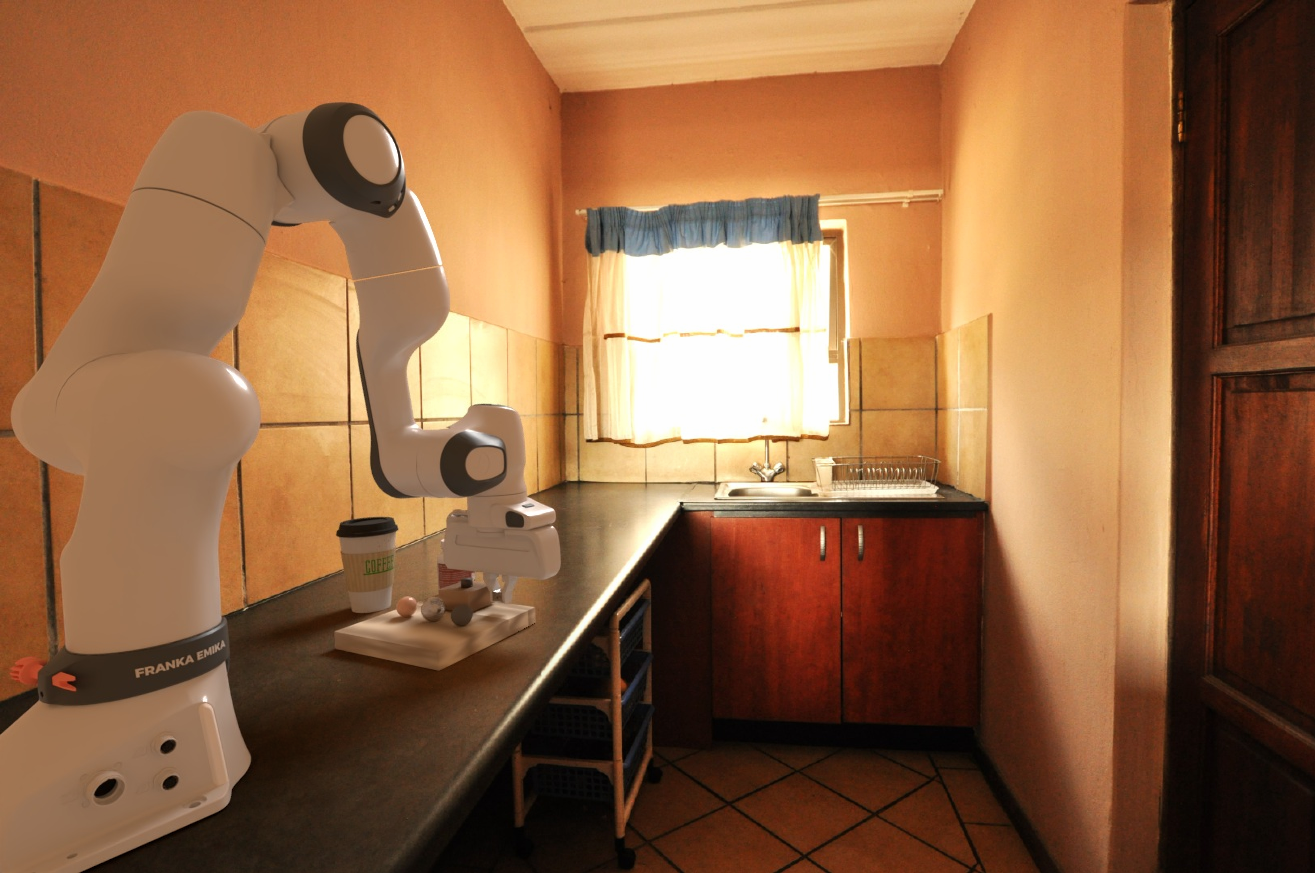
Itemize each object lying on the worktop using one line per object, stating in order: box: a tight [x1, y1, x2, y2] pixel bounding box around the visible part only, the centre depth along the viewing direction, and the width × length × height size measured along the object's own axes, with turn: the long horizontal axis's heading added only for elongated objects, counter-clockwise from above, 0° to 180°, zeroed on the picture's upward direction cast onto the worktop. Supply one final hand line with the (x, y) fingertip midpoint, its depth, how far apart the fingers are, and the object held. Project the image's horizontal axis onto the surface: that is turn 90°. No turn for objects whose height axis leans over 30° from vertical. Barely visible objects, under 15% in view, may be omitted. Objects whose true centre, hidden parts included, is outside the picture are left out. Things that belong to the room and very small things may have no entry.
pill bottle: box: [436, 538, 476, 591], centre depth 115 cm, size 6×6×11 cm
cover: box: [437, 577, 495, 612], centre depth 103 cm, size 6×6×4 cm
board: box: [334, 593, 537, 671], centre depth 98 cm, size 20×20×2 cm
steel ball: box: [421, 596, 446, 621], centre depth 97 cm, size 4×4×4 cm
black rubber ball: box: [451, 604, 473, 626], centre depth 94 cm, size 3×3×3 cm
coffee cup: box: [335, 516, 399, 614], centre depth 113 cm, size 10×10×15 cm
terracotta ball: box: [395, 596, 418, 617], centre depth 99 cm, size 3×3×3 cm
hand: (501, 601), depth 100 cm, fingers closed
